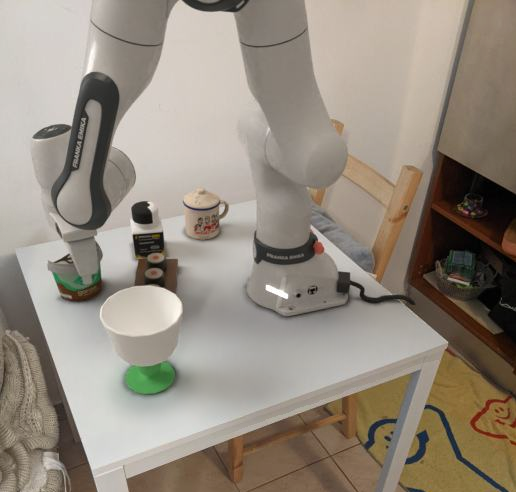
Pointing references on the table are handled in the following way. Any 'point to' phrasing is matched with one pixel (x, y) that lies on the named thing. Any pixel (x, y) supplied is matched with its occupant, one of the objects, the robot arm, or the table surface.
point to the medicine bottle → (146, 229)
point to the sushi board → (167, 274)
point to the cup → (144, 334)
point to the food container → (75, 279)
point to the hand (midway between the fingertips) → (81, 270)
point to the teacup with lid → (203, 213)
